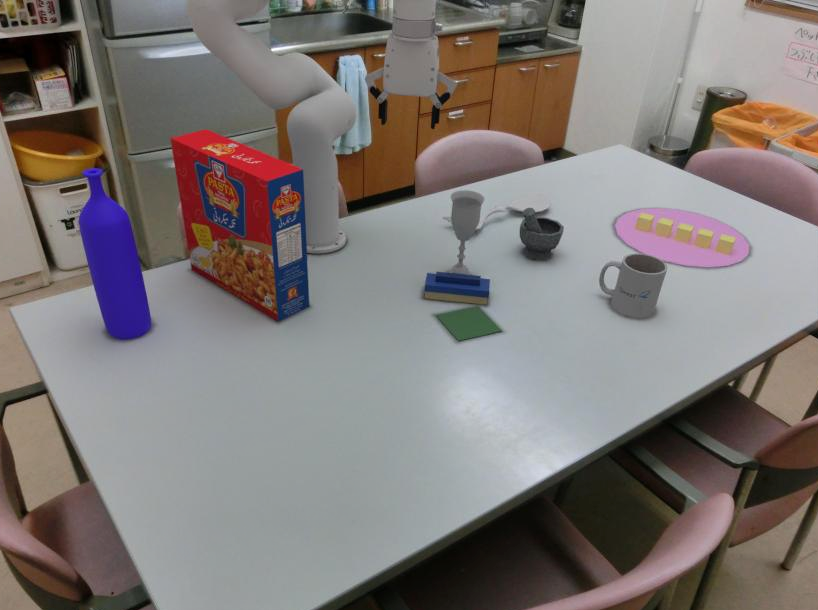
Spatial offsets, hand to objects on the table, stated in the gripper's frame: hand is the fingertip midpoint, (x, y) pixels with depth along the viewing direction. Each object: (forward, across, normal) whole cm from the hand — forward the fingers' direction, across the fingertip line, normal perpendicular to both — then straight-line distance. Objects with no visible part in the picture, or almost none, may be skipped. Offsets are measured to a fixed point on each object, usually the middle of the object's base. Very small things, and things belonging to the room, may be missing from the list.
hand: (408, 124), depth 133 cm
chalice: (+31, -13, +3) cm, 33 cm away
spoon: (+31, -22, -28) cm, 47 cm away
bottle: (+31, +47, +35) cm, 66 cm away
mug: (+31, -48, +8) cm, 57 cm away
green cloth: (+30, -16, +21) cm, 40 cm away
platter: (+31, -66, -28) cm, 78 cm away
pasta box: (+31, +30, +17) cm, 46 cm away
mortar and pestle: (+31, -30, -11) cm, 44 cm away
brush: (+30, -13, +12) cm, 35 cm away
